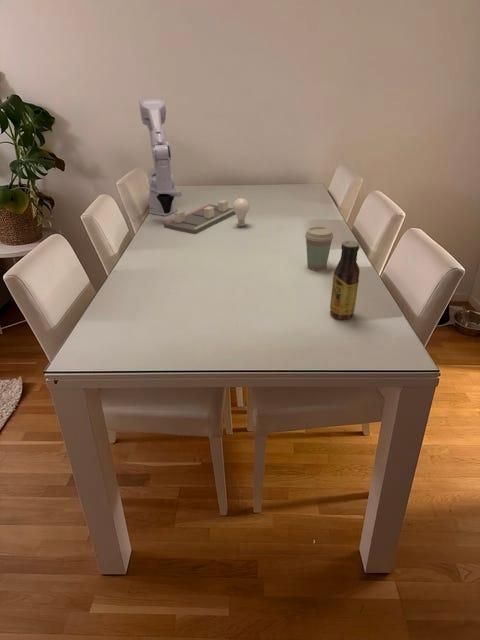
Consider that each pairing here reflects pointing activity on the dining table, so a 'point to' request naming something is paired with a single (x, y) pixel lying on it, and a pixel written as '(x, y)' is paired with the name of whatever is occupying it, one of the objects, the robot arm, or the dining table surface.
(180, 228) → the breaker panel
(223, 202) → the breaker left
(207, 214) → the breaker middle
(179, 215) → the block
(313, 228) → the coffee cup
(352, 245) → the sauce bottle
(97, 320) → the dining table surface
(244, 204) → the lightbulb
